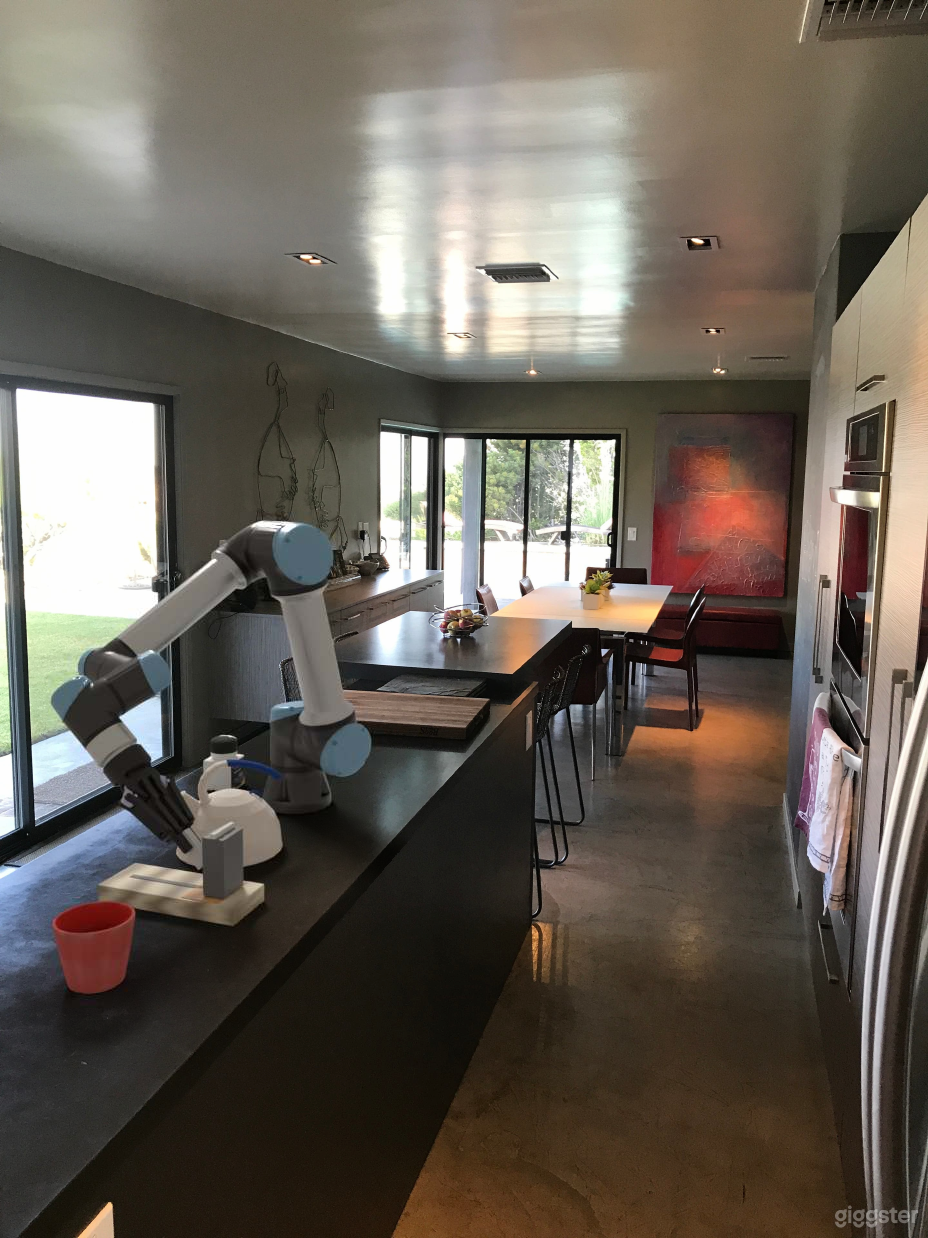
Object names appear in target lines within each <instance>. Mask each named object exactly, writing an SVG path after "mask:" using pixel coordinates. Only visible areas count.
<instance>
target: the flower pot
mask: <svg viewBox="0 0 928 1238" xmlns="http://www.w3.org/2000/svg"><path fill="white" fill-rule="evenodd" d="M135 921H136V909H135V908H133V907H131V906H130V905H128V904H125V903H121V902H114V901H100V902H98V901H93V902H88V903H86V902H85V903H81V904H78V905H76V906H72V907H71V908H68V909H66V910H63V911H62V912H61V913H59V914H58V915H57V916H55V917H54V919H53V921H52V923H51V926H52V929H53V935H54V939H55V943H56V947H57V951H58V955H59V959H60V963H61V967H62V969H63V970H62V971H63V975H64V977H65V980H66V981H65V982H66V984H67V987H68V989H69V990H70V991H73V992H74V993H77V994H78V993H79V994H97V993H103V992H106V991H109V990H111V989H114V988H116V987H117V986H118V985H120V984H121V983H122V982H123V981H124V979H125V977H126V974H127V967H128V963H129V958H130V952H131V948H132V947H131V946H132V940H133V934H134V929H135V928H134V927H135V926H134V925H135Z"/></svg>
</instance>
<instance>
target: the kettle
mask: <svg viewBox="0 0 928 1238" xmlns="http://www.w3.org/2000/svg"><path fill="white" fill-rule="evenodd" d="M224 767H244V768H248V769H252V770H256V771H259V772H262V773H265V774H266V775H268V776H269V775H270V776H271V777H272V778H273V779H280V778H281V777H282V775H281V774H279V773H278V772H277V771H276V770H274V769H272V768H271V766H268V765H265V764H263V763H261V762H258V761H257V762H256V761H251V760H245V759H244V760H224V761H221V762H218V763H215V764H213V765H212V766H211V767H209V768H208V769H207V770H206V771H205V772H204V771H203V774H202V775H201V776H200V779H199V782H198V785H197V796H198V799H199V800H197V799H196V798H195V797H193V796H191V795H190V794H189V793H187V792H186V790H182V791H180V793H181V794H182V796H183V798H184V800H185V802H186V803H187V805H188V807H189V809H190V810H191V812H192V814H193V816H194V818H195V820H194V824H193V825H192V826H191V828H192V830H193V831H194V832H195V834H196V835H197V836H198V837H199V839H200V840H201V843H202V837H204V836H205V835H207V834H209V833H210V832H212V831H214V830H215V829H217V828H218V827H220V826H222V825H224V826H225V825H226V824H228V823H229V822H234V827H237V828H243V868H244V867H249V866H254V865H257V864H260V863H265V862H266V861H268V860H269V859H272V858H274V857H275V856H276V855H277V854H279V852H280V851H282V848H283V841H282V831H281V830H282V829H281V823H280V820H279V819H278V817H277V814H276V812H274V810H273V809H272V808H271V807H270V806H269V805H268V804H267V803H266V802H265V801H264V800H263V793H261V792H260V791H259V790H254V789H253V790H244V789H241V788H240V789H239V788H237V789H223V790H220V791H213V792H211V793H208V790H207V783H208V780H209V779H210V777H211V776H212V774H213V773H215V772H216V771H218V770H219V769H221V768H224ZM257 794H258V795H257ZM176 847H177V848H176V856H177V857H178V858H179V860H180V861H182V862H184V863H185V864H187V865H190V866H194V867H196V866H195V865H194V864H193V863H192V861H191V860H190V859H189V858H188V856H187V855H186V854H184V853H183V852H182V851H181V849H180V848H179V847H178V846H177V845H176Z"/></svg>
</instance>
